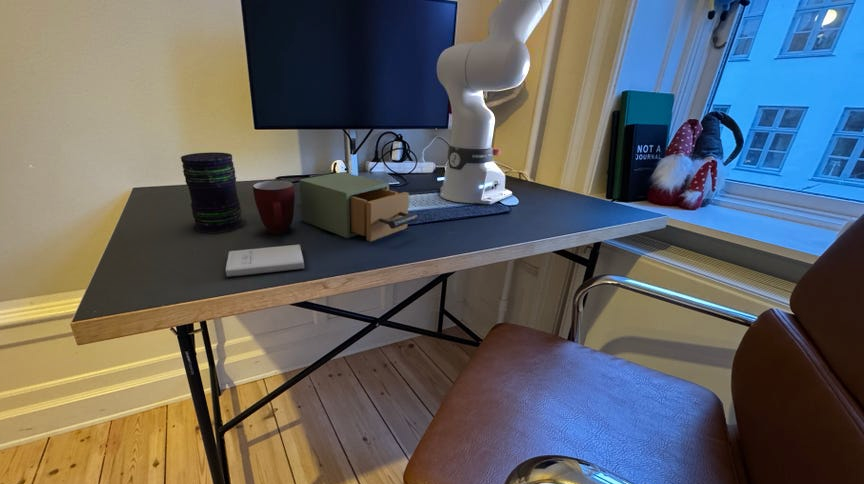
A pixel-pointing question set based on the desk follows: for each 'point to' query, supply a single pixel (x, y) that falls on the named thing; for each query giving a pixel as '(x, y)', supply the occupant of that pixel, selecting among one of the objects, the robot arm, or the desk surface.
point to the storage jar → (212, 191)
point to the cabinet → (333, 200)
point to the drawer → (379, 213)
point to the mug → (275, 204)
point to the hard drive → (264, 260)
